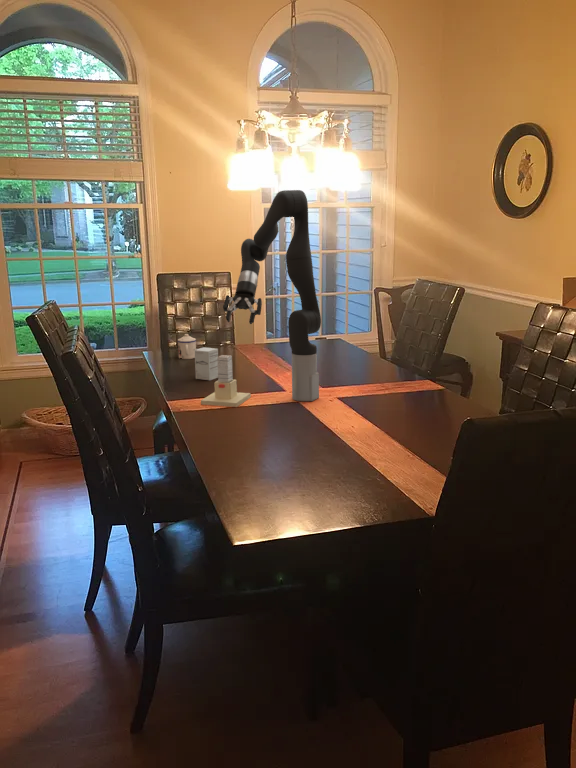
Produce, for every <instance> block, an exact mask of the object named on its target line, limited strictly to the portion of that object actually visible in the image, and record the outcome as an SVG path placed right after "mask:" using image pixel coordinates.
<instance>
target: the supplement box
mask: <svg viewBox="0 0 576 768" xmlns="http://www.w3.org/2000/svg"><path fill="white" fill-rule="evenodd" d="M217 357H219V348H213V347H212V348H211V347H200V348H196V350H195V358H194V366H195V367H194V369H195V380H204V381H212V380H216V379H218V362H217Z"/></svg>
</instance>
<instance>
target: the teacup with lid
mask: <svg viewBox="0 0 576 768" xmlns="http://www.w3.org/2000/svg"><path fill="white" fill-rule="evenodd" d="M177 347H178V349H177V350H178V359H180V358H182V359H181V360H192V359H195V350H197V339H196V338H195V337H192V336H191V335H189V333H184V336H182V337H180V338H178V339H177Z"/></svg>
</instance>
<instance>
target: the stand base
mask: <svg viewBox="0 0 576 768" xmlns="http://www.w3.org/2000/svg"><path fill="white" fill-rule="evenodd" d="M213 384H214V392H212V393H211V394H209V395H208V396H206V397H204V398H203V399H200V405H206V406H219V407H231V408H238V407H239V406H240V405H242V404H243V403H244V402H246V401H247V400H249V399H250V398H251V396H252V393H250V392H238V386H237V379H233V381H231V382H230V383H222V382H218V380H216V381H215V382H214V383H213Z"/></svg>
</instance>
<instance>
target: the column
mask: <svg viewBox="0 0 576 768" xmlns="http://www.w3.org/2000/svg"><path fill="white" fill-rule="evenodd" d="M217 362H218V378H217V379H218V380H217V381H218V382H222V383H230V382H231V381H233V378H234V376H233V373H234V372H233V356H232V355H231V354H230V355H229V354H220V355H218V357H217Z"/></svg>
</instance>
